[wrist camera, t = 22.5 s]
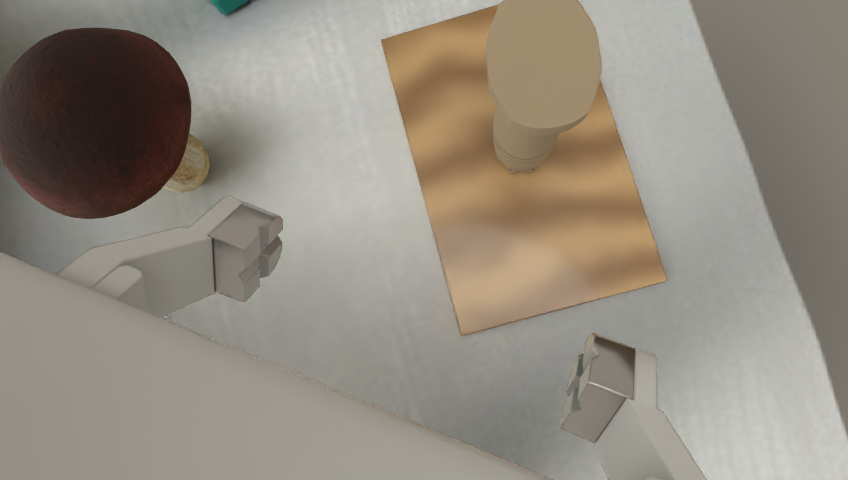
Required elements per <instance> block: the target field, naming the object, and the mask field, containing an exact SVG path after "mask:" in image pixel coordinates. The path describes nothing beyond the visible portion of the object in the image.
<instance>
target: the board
mask: <svg viewBox="0 0 848 480" xmlns="http://www.w3.org/2000/svg"><path fill="white" fill-rule="evenodd" d="M498 6H499V5H496V6H492V7H489V8H486V9H482V10H479V11H476V12H472V13H469V14H466V15H462V16H459V17H456V18H452V19H449V20H446V21H442V22H439V23H436V24H432V25H429V26H426V27H422V28H419V29H416V30H412V31H409V32H406V33H402V34H399V35H396V36H392V37H389V38H386V39H382V40H381V42H382V46H383V49H384V53H385V57H386V60H387V64H388V68H389V71H390V75H391V79H392V82H393V86H394V90H395V93H396V97H397V101H398V104H399V108H400V112H401V115H402V119H403V123H404V126H405V130H406V134H407V137H408V141H409V145H410V148H411V152H412V156H413V159H414V163H415V167H416V170H417V174H418V178H419V181H420V185H421V189H422V192H423V196H424V200H425V203H426V207H427V211H428V214H429V218H430V222H431V225H432V229H433V233H434V236H435V240H436V244H437V247H438V251H439V255H440V258H441V262H442V266H443V269H444V273H445V277H446V280H447V284H448V288H449V291H450V295H451V299H452V302H453V306H454V310H455V313H456V317H457V321H458V324H459V328H460V332H461V335H462V336H463V335H467V334H471V333H475V332H478V331H482V330H486V329H490V328H493V327H497V326H501V325H504V324H508V323H512V322H516V321H519V320H523V319H527V318H531V317H534V316H538V315H542V314H545V313H549V312H553V311H557V310H560V309H564V308H568V307H572V306H575V305H579V304H583V303H586V302H590V301H594V300H598V299H601V298H605V297H609V296H613V295H616V294H620V293H624V292H627V291H631V290H635V289H639V288H642V287H646V286H650V285H654V284H657V283H661V282H665V281H667V277H666V274H665V271H664V268H663V265H662V262H661V259H660V256H659V253H658V250H657V247H656V244H655V241H654V238H653V235H652V232H651V229H650V226H649V223H648V220H647V217H646V214H645V211H644V208H643V205H642V202H641V199H640V196H639V193H638V190H637V187H636V184H635V181H634V178H633V175H632V172H631V169H630V166H629V163H628V160H627V157H626V154H625V151H624V148H623V145H622V142H621V139H620V136H619V133H618V130H617V127H616V124H615V121H614V118H613V115H612V112H611V109H610V106H609V104H608V101H607V98H606V95H605V92H604V89H603V86H602V83H601V80H600V82H599V85H598V88H597V91H596V94H595V97H594V99H593V102H592V105H591V107H590V110H589V112H588V114H587V116H586V118H585V119H584V120H583V121H582V122H580V123H579V124H578V125H576V126H575V127H573V128H572V129H570V130H567V131H564V132H562V133H559V135H558V138H557V140H556V142H555V145H554V147H553V149H552V150H551V152H550V153H549V155H548V156H547V158H546V159H545V160H544V161H543V162H542V163H541V164H540V165H538V168H537V169H536V170H535V171H534V172H532V173H527V172H520V173H517V174H516V175H512V174H510V173H508V170H507V168H506V166H505V165H504V164H503V163H502V162H501V161H500V160H498V159H497V157H496V154H495V147H494V141H493V122H494V117H495V113H496V109H497V106H496V104H495V102H494V100H493V99H492V97H491V95H490V92H489V88H488V80H487V70H486V58H485V52H486V41H487V37H488V33H489V30H490V27H491V24H492V21H493V19H494V16H495V14H496V11H497V9H498Z"/></svg>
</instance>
